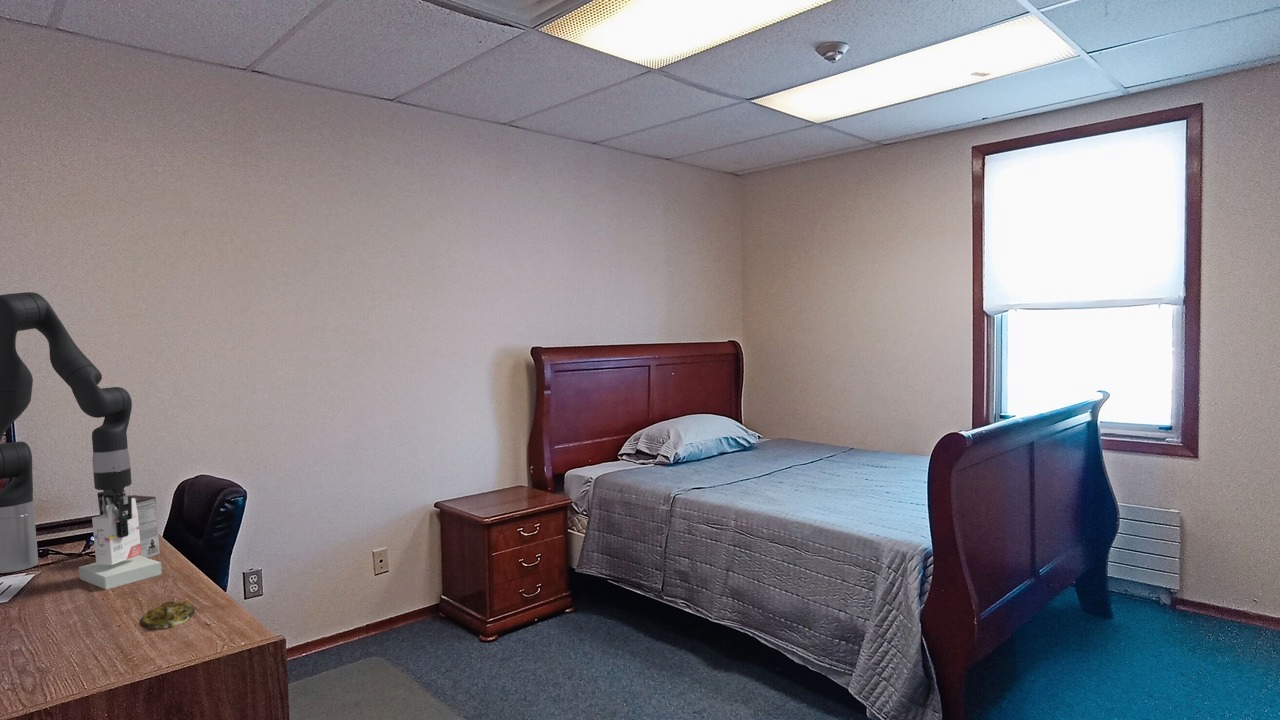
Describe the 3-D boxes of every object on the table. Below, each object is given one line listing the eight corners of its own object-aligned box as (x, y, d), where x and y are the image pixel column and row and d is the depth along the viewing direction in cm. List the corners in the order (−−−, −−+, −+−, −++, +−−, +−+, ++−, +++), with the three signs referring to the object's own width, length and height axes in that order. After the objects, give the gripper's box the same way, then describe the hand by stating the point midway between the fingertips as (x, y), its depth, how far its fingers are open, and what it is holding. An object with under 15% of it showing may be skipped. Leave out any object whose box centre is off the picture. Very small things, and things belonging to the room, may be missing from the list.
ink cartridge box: (125, 553, 189) (121, 496, 188) (142, 554, 188) (137, 497, 187) (94, 564, 181) (90, 505, 180) (111, 565, 180) (107, 505, 179)
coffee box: (114, 559, 200) (109, 500, 200) (137, 551, 206) (132, 494, 206) (139, 561, 197) (134, 501, 196) (161, 553, 203) (157, 495, 203)
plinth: (79, 578, 184) (78, 567, 184) (134, 564, 194) (133, 553, 194) (106, 589, 175) (105, 577, 175) (161, 574, 185) (160, 562, 185)
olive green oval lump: (141, 619, 159) (146, 639, 147) (136, 598, 158) (141, 617, 146) (191, 602, 164) (200, 621, 152) (186, 582, 164) (195, 599, 152)
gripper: (82, 468, 184) (87, 535, 185) (106, 473, 176) (111, 543, 177) (117, 463, 190) (122, 527, 191) (141, 467, 182) (146, 534, 183)
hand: (117, 534), depth 184 cm, fingers closed on ink cartridge box, 6 cm apart
